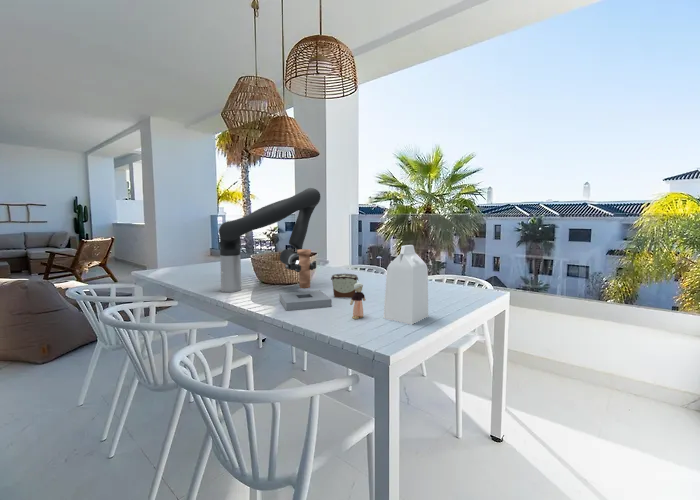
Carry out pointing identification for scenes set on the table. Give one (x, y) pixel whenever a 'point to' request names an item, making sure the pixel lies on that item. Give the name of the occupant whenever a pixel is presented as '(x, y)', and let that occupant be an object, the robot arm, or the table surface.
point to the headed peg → (304, 267)
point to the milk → (406, 288)
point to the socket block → (304, 300)
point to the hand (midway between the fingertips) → (306, 268)
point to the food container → (344, 285)
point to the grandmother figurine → (358, 301)
